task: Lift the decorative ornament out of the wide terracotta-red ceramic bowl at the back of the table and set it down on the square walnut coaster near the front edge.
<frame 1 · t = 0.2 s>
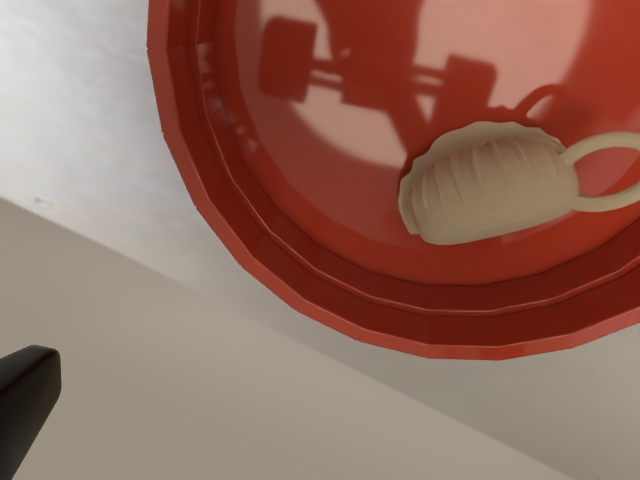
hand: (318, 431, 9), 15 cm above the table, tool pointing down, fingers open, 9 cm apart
decorative ornament: (492, 170, 21), resting on bowl
bowl: (465, 62, 20), on the table
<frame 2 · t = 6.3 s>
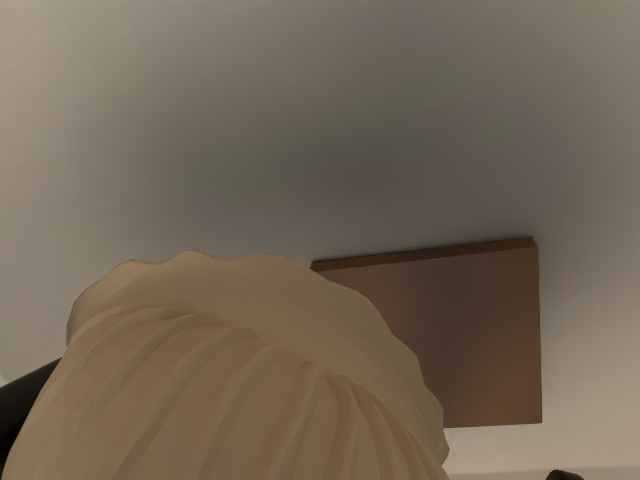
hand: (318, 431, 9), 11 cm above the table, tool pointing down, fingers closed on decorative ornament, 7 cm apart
decorative ornament: (305, 379, 9), point 10 cm above the table, touching gripper
coaster: (429, 338, 21), on the table
when the fingers open (2 cm above the table, at t = 9.7 s): decorative ornament stays where it is, resting on coaster.
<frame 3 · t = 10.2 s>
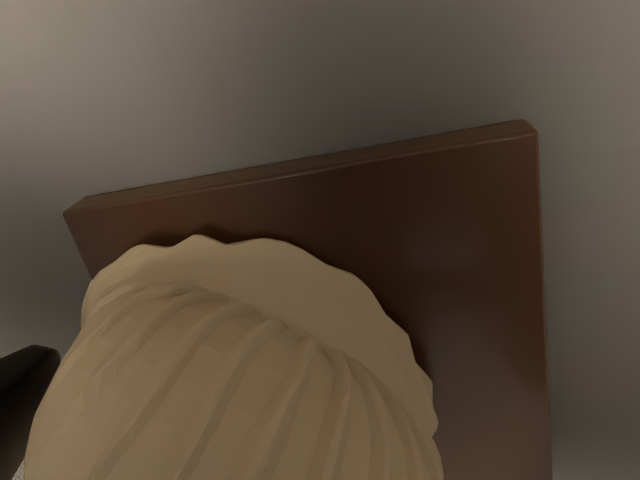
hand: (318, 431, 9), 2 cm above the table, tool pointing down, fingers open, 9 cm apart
decorative ornament: (304, 358, 10), point 1 cm above the table, touching coaster
coaster: (331, 346, 11), on the table
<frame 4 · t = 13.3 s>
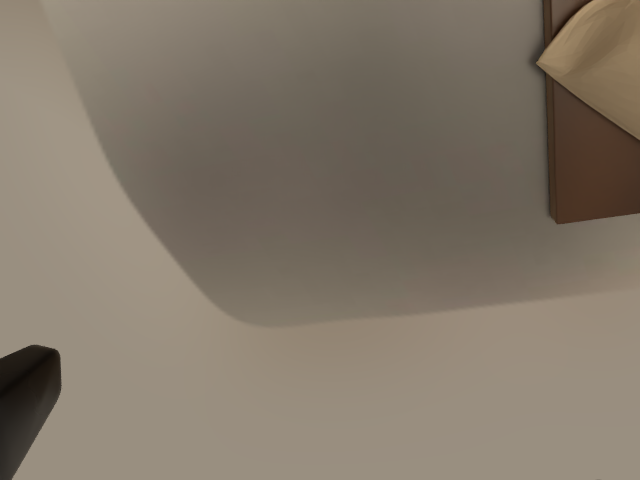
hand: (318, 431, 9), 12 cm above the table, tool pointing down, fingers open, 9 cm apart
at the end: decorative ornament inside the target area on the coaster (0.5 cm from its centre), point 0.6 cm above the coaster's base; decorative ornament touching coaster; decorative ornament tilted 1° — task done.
